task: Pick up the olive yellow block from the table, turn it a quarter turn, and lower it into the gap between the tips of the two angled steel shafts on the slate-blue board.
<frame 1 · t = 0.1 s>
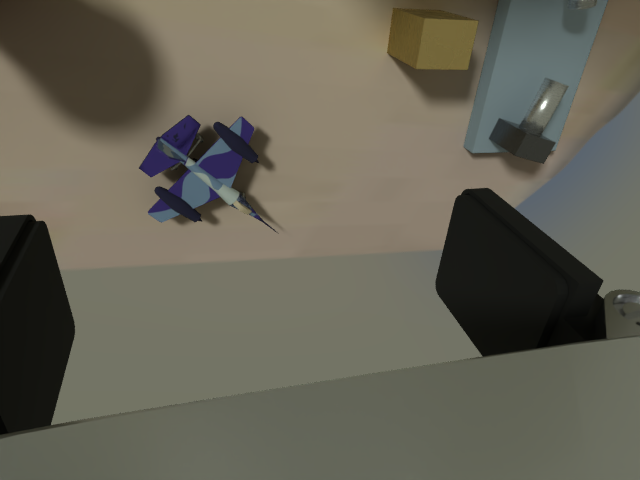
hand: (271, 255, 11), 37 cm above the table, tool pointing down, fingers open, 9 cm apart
olive yellow block: (413, 31, 46), on the table
shaft 1: (526, 70, 51), resting on board
toy airplane: (212, 170, 48), on the table
shaft 2: (547, 0, 47), resting on board
board: (536, 36, 49), on the table
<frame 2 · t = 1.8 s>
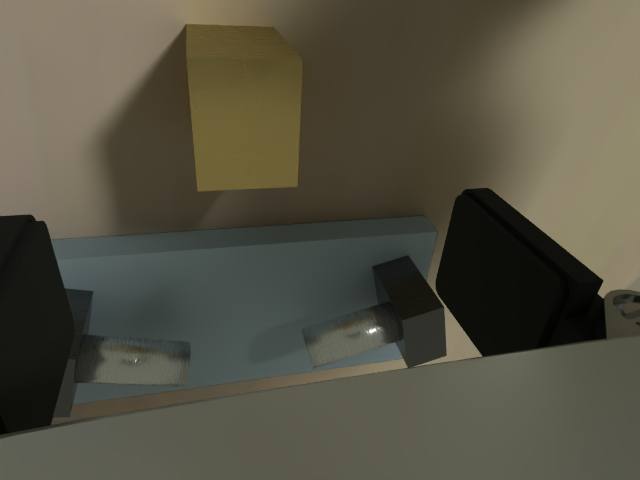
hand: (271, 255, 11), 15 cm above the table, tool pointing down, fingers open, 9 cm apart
olive yellow block: (232, 80, 23), on the table
shaft 1: (186, 305, 30), resting on board
shaft 2: (291, 294, 31), resting on board
board: (240, 299, 31), on the table
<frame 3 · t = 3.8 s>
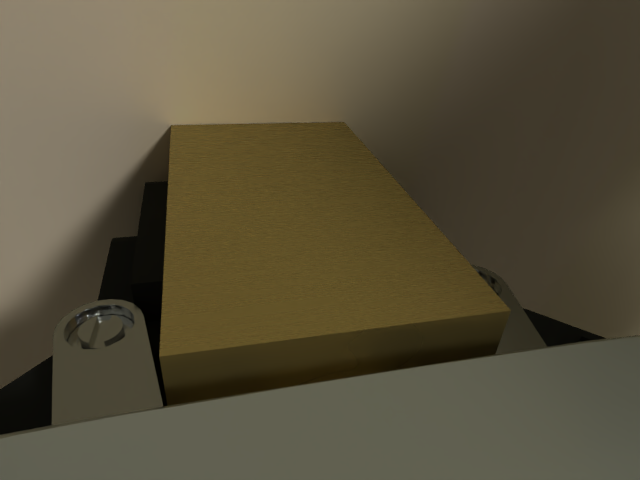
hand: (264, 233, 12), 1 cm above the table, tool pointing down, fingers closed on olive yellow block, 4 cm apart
olive yellow block: (261, 217, 12), on the table, touching gripper
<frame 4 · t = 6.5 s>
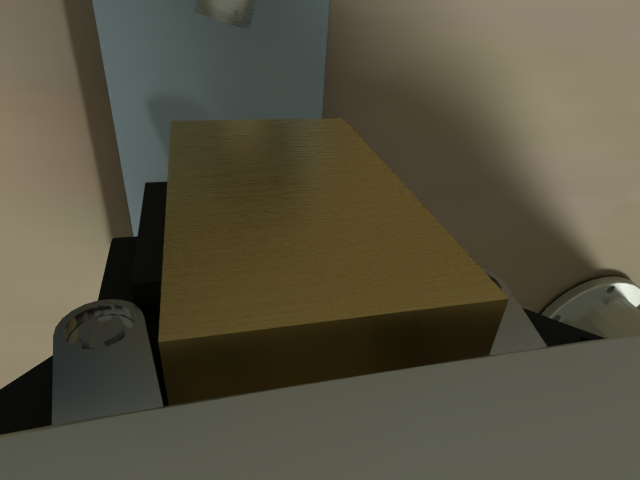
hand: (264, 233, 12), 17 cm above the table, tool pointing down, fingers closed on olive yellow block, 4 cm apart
olive yellow block: (261, 213, 12), point 17 cm above the table, touching gripper
shaft 1: (215, 5, 24), resting on board
board: (218, 74, 26), on the table
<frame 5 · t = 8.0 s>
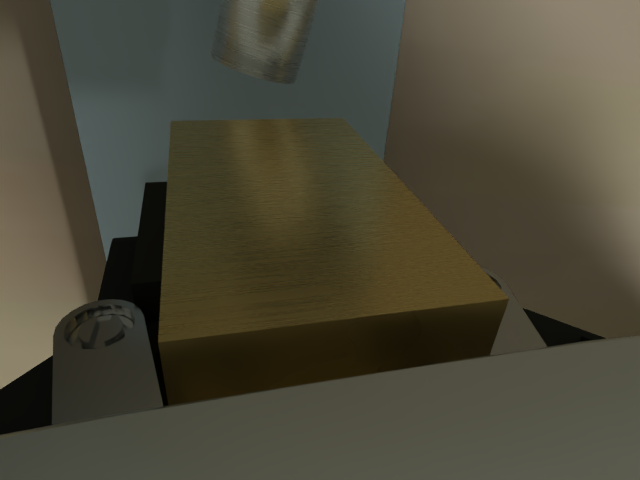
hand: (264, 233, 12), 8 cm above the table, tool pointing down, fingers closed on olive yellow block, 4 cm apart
olive yellow block: (261, 213, 12), point 8 cm above the table, touching gripper
shaft 1: (237, 38, 17), resting on board
board: (240, 129, 19), on the table
when the fingers open (3 cm above the table, at t = 9.3 s): olive yellow block stays where it is, resting on board.
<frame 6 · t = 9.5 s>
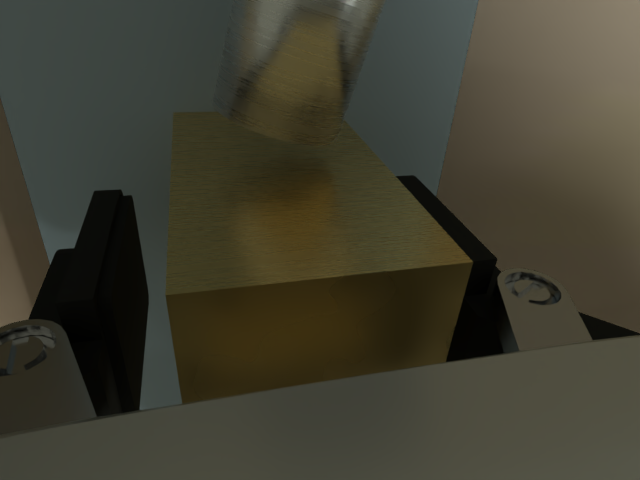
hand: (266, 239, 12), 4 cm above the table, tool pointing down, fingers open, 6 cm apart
olive yellow block: (258, 200, 13), point 2 cm above the table, touching board
shaft 1: (245, 62, 13), resting on board
board: (248, 175, 15), on the table
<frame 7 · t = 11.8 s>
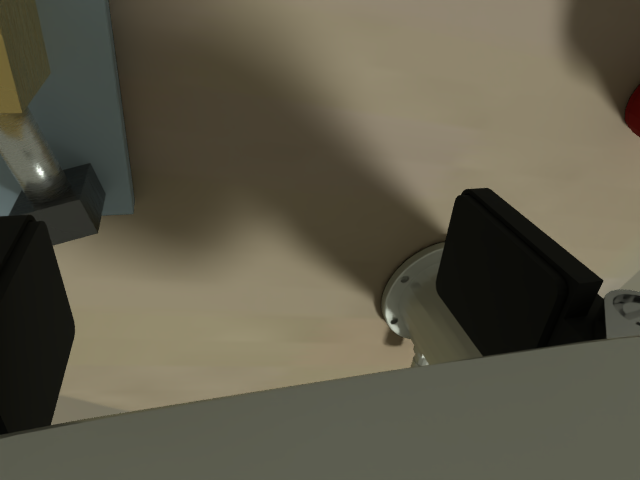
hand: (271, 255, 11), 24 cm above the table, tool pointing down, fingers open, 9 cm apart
shaft 2: (23, 81, 29), resting on board
board: (8, 21, 27), on the table
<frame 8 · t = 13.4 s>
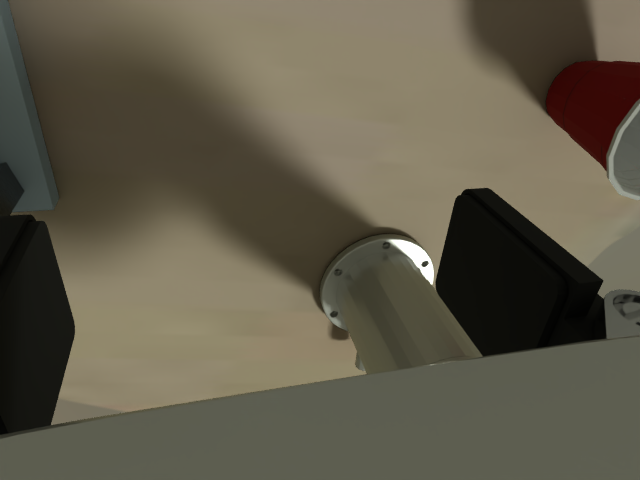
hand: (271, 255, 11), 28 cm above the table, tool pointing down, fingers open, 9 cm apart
plastic cup: (569, 94, 44), on the table
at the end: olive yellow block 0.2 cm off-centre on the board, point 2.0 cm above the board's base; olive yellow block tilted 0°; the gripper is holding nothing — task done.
